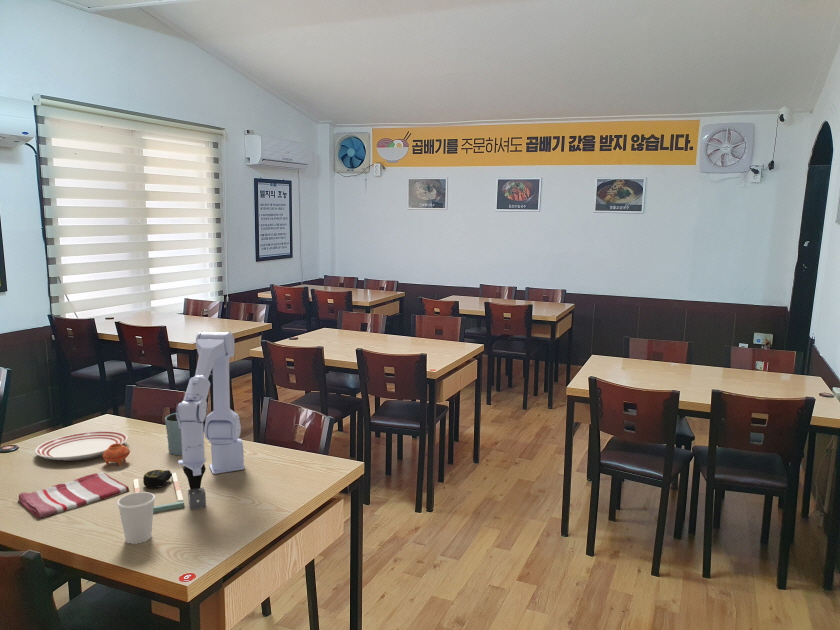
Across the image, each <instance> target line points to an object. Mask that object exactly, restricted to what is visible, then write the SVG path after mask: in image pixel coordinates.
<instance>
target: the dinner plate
mask: <svg viewBox="0 0 840 630" xmlns="http://www.w3.org/2000/svg"><path fill="white" fill-rule="evenodd" d="M128 439H129V437H128V435H127V434H125V433H124V432H121V431H114V430H93V431H85V432H84V431H83V432H77V433H72V434H68V435H67V434H66V435H63V436H59V437H55V438H53V439H50V440H47V441H45V442H43V443H41V444H39V445H38V446H37V447H36V448H35V449H34V453H35V454H36V455H37V456H39V457H42V458H44V459H49V460H54V461H62V460H63V461H64V462H69V461H70V462H74V461H83V460H89V459H93V458H97V457H100V456H103V453H104V452H105V451H106V450H107V449H108V448H109V446H110V445H112V444H122V445H124V444H125V443H126V442H127V441H128Z"/></svg>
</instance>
